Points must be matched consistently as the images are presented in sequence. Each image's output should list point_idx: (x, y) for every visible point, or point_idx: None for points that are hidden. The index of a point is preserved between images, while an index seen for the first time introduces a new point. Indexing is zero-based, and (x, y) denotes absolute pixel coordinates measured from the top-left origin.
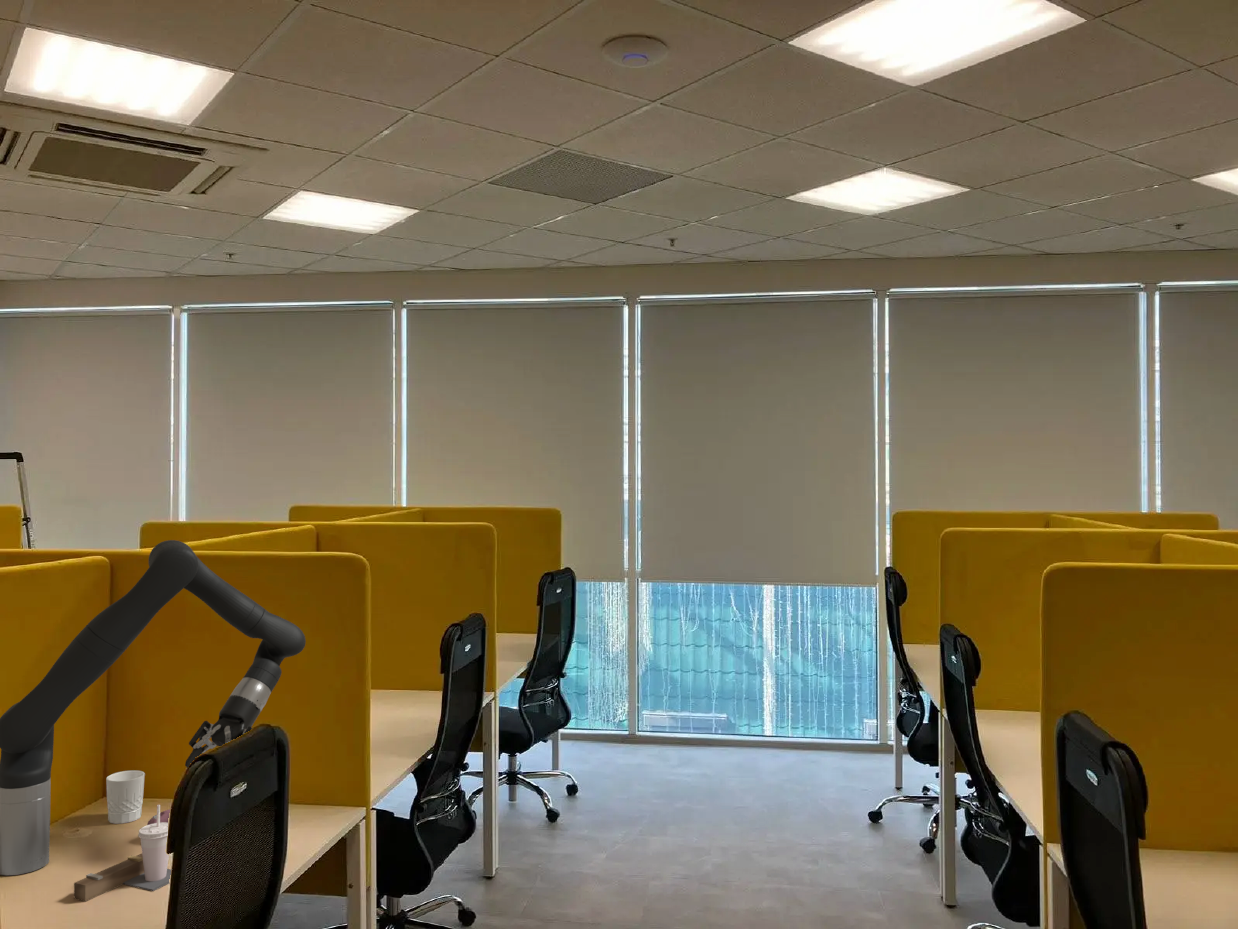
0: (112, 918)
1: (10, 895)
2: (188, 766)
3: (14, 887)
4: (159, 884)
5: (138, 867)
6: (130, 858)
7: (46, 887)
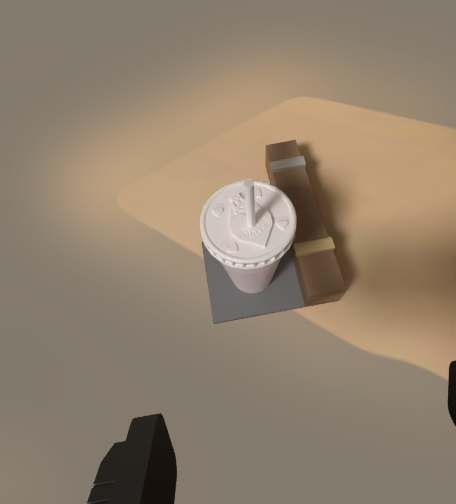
0: (169, 165)
1: (395, 115)
2: (450, 371)
3: (428, 127)
4: (212, 260)
5: (293, 251)
6: (321, 239)
7: (385, 153)
